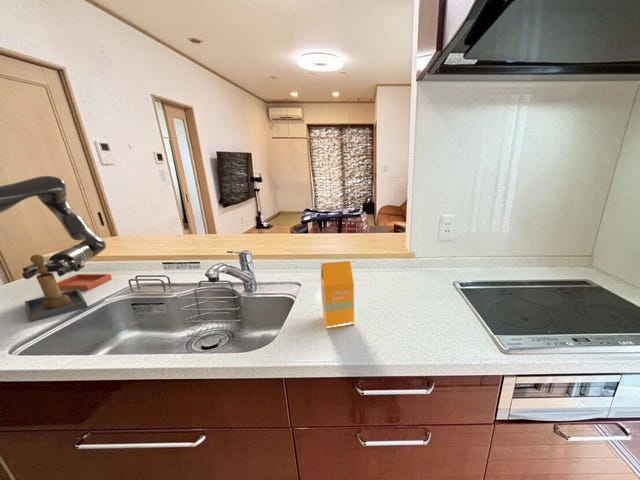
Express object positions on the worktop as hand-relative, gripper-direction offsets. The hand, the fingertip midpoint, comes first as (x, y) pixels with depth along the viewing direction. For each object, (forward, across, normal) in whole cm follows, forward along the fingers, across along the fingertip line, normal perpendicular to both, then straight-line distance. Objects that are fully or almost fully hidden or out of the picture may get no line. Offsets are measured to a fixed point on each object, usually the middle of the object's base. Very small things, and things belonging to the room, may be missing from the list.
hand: (42, 274), depth 96 cm
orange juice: (+40, +89, +12) cm, 98 cm away
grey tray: (0, 0, +12) cm, 12 cm away
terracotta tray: (-21, -1, +12) cm, 24 cm away
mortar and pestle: (-1, 0, +12) cm, 12 cm away
